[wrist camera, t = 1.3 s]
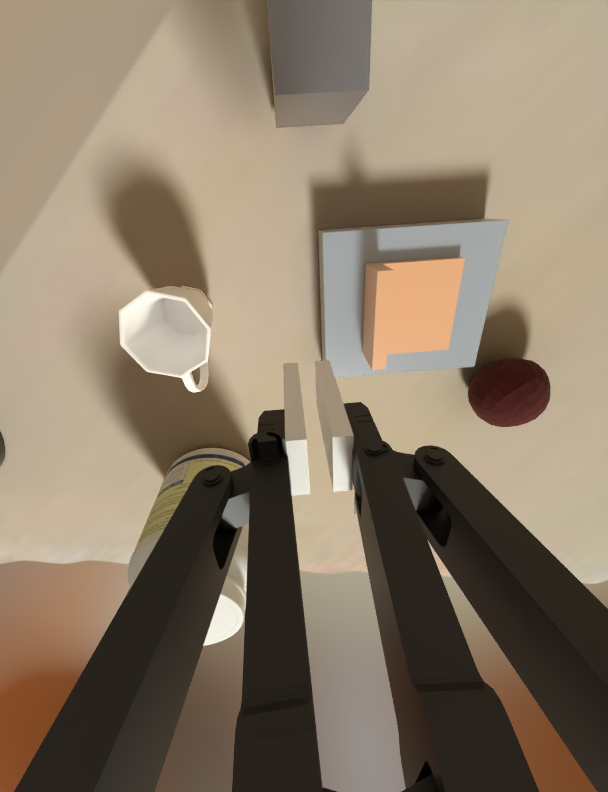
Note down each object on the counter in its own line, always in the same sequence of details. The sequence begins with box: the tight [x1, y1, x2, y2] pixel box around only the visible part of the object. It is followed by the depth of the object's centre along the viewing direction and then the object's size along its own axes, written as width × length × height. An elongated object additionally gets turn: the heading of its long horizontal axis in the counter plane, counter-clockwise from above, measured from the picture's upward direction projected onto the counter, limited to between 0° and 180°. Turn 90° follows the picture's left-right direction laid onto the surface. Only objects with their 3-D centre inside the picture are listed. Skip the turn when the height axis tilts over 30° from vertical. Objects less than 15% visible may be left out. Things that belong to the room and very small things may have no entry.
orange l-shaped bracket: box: [362, 257, 465, 370], centre depth 27 cm, size 8×8×4 cm
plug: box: [267, 0, 372, 128], centre depth 20 cm, size 5×5×9 cm
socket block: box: [318, 219, 508, 378], centre depth 31 cm, size 15×13×4 cm
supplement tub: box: [127, 448, 250, 646], centre depth 35 cm, size 12×12×17 cm
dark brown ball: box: [468, 358, 550, 427], centre depth 34 cm, size 7×8×7 cm
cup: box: [119, 285, 213, 393], centre depth 29 cm, size 7×10×8 cm
